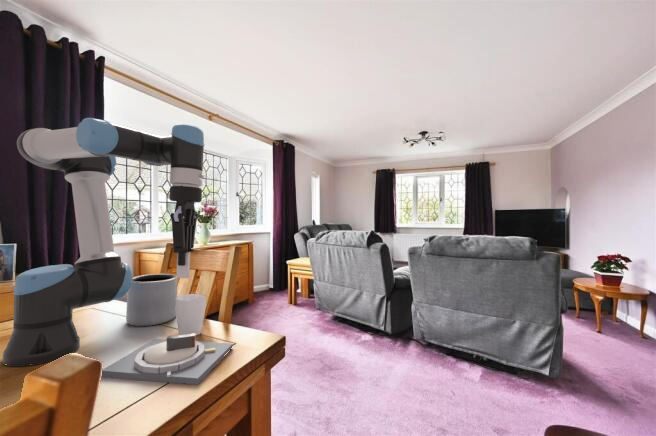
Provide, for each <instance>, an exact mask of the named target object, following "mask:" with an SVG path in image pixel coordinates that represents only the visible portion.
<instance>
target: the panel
mask: <svg viewBox="0 0 656 436" xmlns="http://www.w3.org/2000/svg"><path fill="white" fill-rule="evenodd" d="M166 341H167V338H154V339H152V340H150V341H148V342H147V343H146V344H144V345H142V346H140V347H138V348H137V349H135V350H133V351H132V352H130V353H129V354H127V355H125V356H123V357H122V358H120V359H118V360H116V361H115V362H113V363H111V364H110V365H108V366H107V367H104V368H103V369H101V370H102V377H101V378H108V377H109V378H110V379H121V380H134V381H145V382H157V383H159V382H160V383H167V382H169V383H170V384H179V383H186V384H185V385H191V384H195V386H198V385H199V384H200V383H201V382H202V381H203V380H204V379H205V378H206V377H207V376H208V375H209V374H210V373H211V372H212V371H213V370H214V369H215V368H216V366H217V365H218V364H219V363H220V362H221V361H222V360H223V359H224V358H225V357H224V355H225V354H226V353H227V352H228V351H229V350H230V349H231V348H232V346H233V343H225V342H213V341H212V342H211V341H201V340H200V341H198V340H195V343H196V344H197V353H196V354H194V355H193V356H192V357H190V358H187V359H185V360H182V361H179V362H176V363H169V364H163V365H158V364H147V363H146V362H144V356H145V351H146V350H147V349H149V348H150V347H152V346H154V345H156V344H159V343H162V342H166ZM233 347H234V346H233ZM223 357H224V358H223ZM222 358H223V359H222ZM221 359H222V360H221ZM220 360H221V361H220ZM219 361H220V362H219ZM218 362H219V363H218ZM217 363H218V364H217ZM216 364H217V365H216ZM215 365H216V366H215ZM214 367H215V368H214ZM213 368H214V369H213ZM212 369H213V370H212ZM211 370H212V371H211ZM210 371H211V372H210ZM209 372H210V373H209ZM208 373H209V374H208ZM207 374H208V375H207ZM206 375H207V376H206ZM205 376H206V377H205ZM204 377H205V378H204ZM203 378H204V379H203ZM169 383H168V384H169Z"/></svg>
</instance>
